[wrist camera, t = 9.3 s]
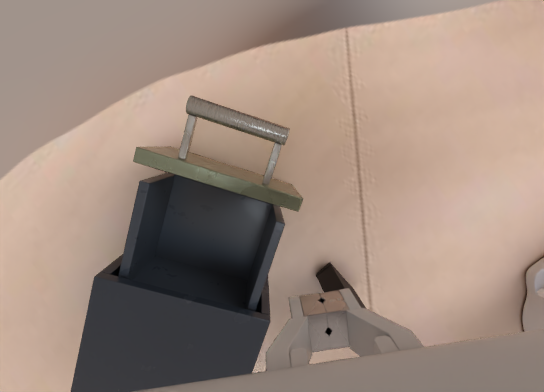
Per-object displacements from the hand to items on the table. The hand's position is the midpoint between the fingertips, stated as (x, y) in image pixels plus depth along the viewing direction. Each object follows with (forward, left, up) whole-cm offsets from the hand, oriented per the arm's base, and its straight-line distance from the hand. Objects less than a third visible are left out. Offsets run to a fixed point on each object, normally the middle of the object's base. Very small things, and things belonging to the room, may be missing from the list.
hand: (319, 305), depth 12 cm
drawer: (+3, -7, -16) cm, 18 cm away
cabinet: (+16, -2, -17) cm, 23 cm away
